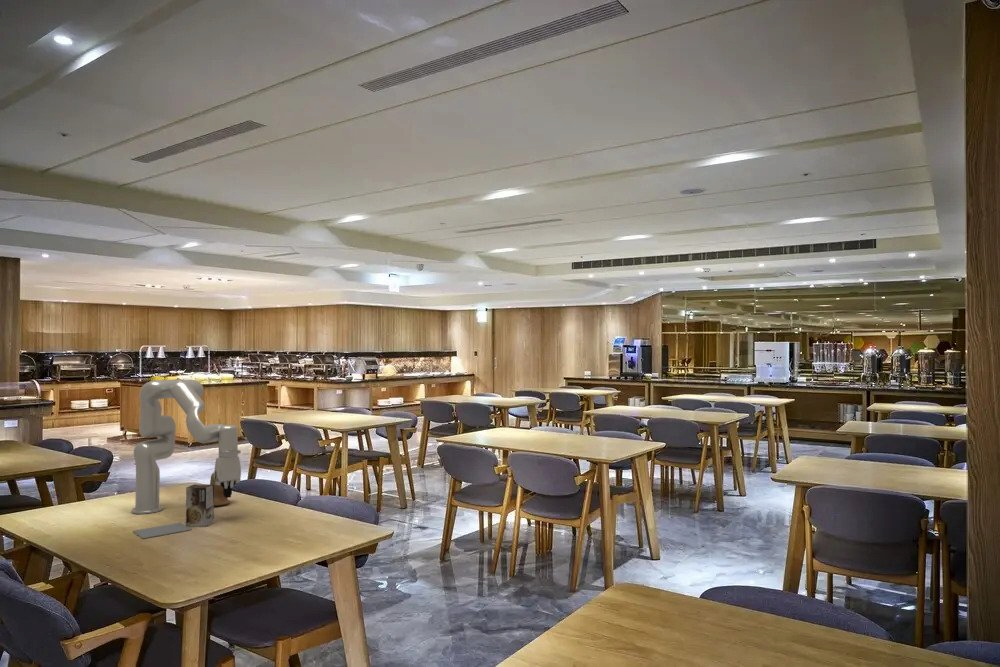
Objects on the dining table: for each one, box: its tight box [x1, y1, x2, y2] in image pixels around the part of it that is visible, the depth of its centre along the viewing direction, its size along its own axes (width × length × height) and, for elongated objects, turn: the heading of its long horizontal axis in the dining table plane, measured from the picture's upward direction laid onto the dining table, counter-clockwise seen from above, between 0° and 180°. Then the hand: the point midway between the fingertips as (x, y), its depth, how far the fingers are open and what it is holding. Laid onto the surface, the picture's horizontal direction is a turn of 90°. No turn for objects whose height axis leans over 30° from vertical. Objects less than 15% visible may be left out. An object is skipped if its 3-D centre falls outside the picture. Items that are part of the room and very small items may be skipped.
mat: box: [132, 522, 193, 540], centre depth 261 cm, size 14×18×1 cm
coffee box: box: [185, 483, 215, 527], centre depth 271 cm, size 9×6×16 cm
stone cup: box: [209, 472, 231, 507], centre depth 307 cm, size 15×12×15 cm
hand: (227, 497), depth 279 cm, fingers closed
